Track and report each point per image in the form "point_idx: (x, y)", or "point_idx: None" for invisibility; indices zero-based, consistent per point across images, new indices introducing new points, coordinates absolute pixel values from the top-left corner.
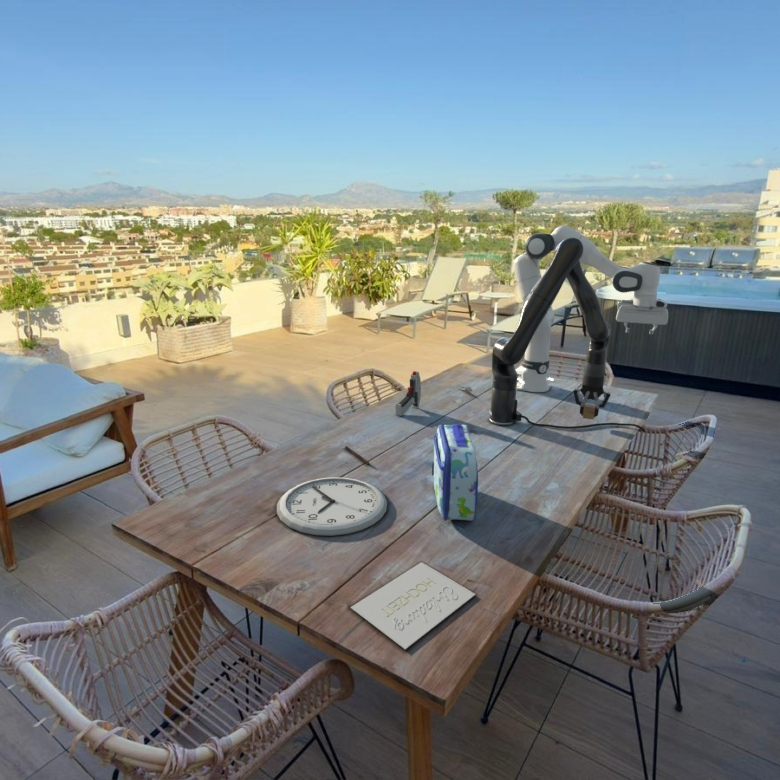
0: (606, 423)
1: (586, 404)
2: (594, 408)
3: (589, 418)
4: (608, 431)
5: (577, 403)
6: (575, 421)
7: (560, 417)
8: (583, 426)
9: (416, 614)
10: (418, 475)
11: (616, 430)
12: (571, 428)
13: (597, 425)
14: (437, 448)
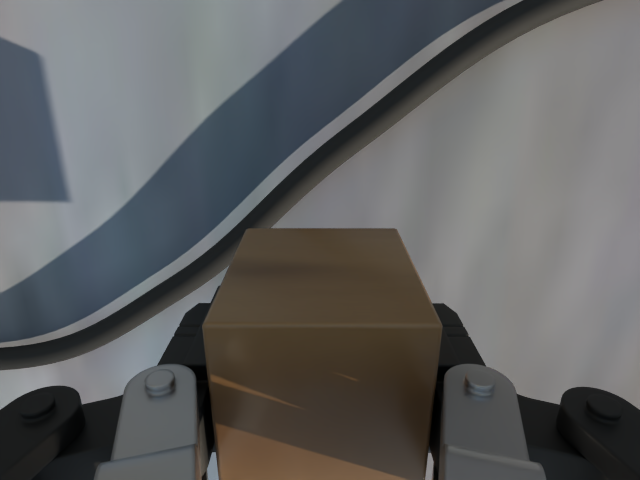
0: (122, 316)
1: (388, 453)
2: (219, 315)
3: (303, 229)
4: (79, 135)
5: (601, 399)
6: None
7: (589, 361)
8: (366, 112)
9: None
10: None
11: (8, 206)
12: (518, 8)
13: (212, 249)
14: None
